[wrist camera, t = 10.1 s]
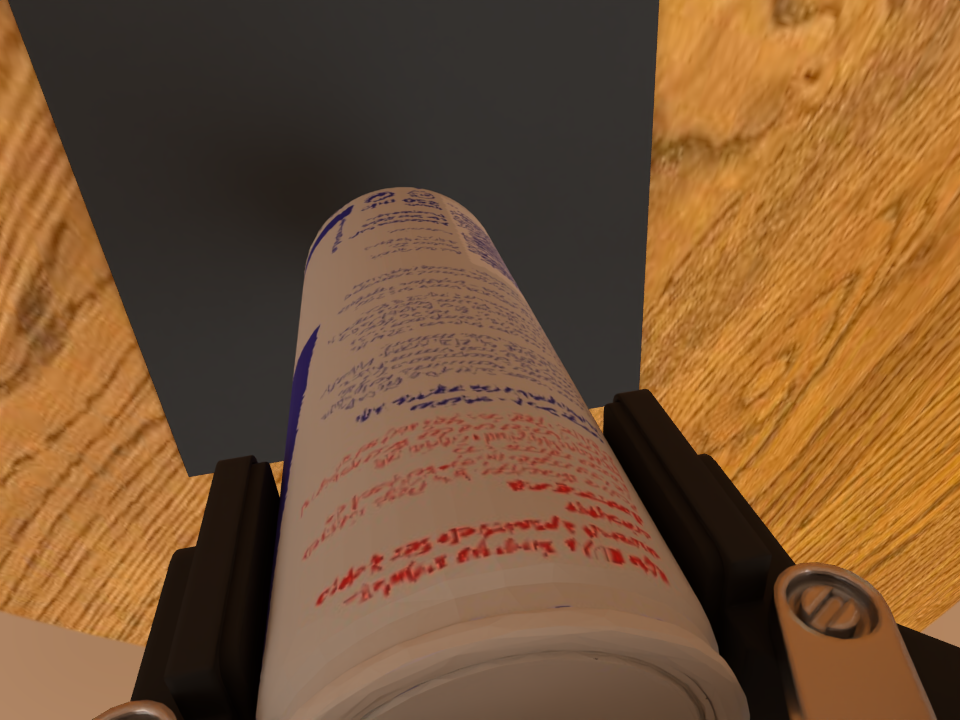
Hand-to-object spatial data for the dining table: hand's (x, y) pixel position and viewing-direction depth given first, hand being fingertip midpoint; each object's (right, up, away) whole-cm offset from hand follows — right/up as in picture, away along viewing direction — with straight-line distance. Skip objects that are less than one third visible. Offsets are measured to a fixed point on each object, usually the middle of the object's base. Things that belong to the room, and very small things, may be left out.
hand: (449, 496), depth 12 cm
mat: (-3, +8, +14) cm, 16 cm away
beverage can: (-2, +5, +9) cm, 10 cm away
